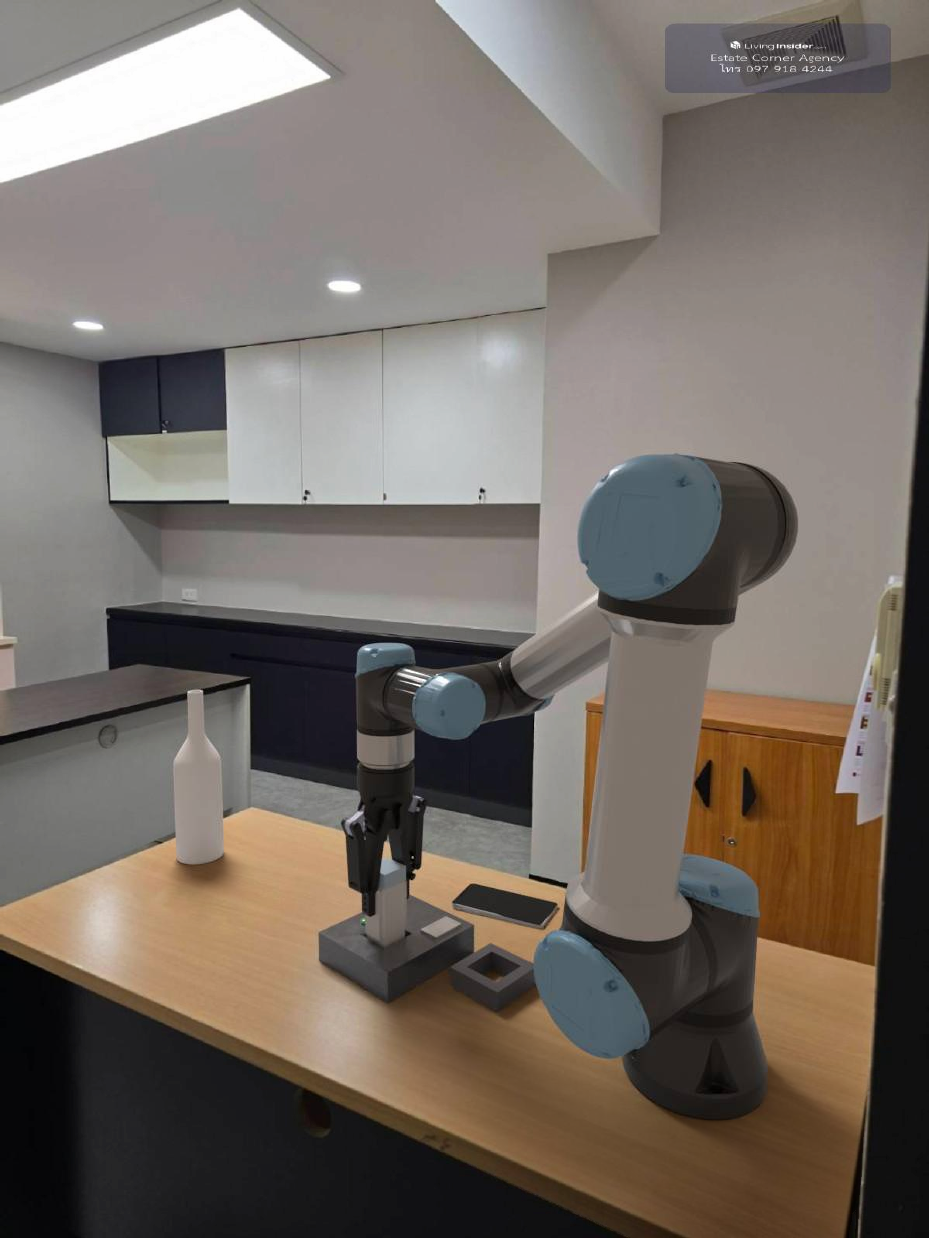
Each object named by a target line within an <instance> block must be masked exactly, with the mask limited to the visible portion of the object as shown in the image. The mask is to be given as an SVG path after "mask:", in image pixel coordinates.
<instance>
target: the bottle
mask: <svg viewBox="0 0 929 1238" xmlns="http://www.w3.org/2000/svg"><path fill="white" fill-rule="evenodd" d="M186 693H187V696H186V697H187V723H188V724H187V726H188V727H187V730H188V731H187V732H188V733H187V736H186V737H187V738H186V739H185V740H184V742H183V744H182V746H181V747H180V749H179V751H178V752H177V754H176V756H175V757H174V760H173V764H172V765H173V766H172V768H173V771H172V772H173V791H174V792H173V803H174V825H175V853H176V860H177V861H178V862H179V863H181V864H185V865H191V866H192V865H194V866H195V865H196V866H197V865H202V864H209V863H212V862H215V861H217V860H219V859H220V858H221V857H222V856H223V855H224V853H225V849H224V848H225V846H224V845H225V843H224V842H225V839H224V835H225V834H224V808H223V805H224V804H223V802H224V801H223V800H224V798H223V772H222V771H223V769H222V765H223V764H222V758H221V755H220V754H219V752H218V750H217V749H216V748H215V746H214V745H213V744H212V742H211V741H210V740H209V738H208V736H207V735H206V732H205V731H206V729H205V711H204V710H205V708H204V706H205V705H204V691H203V690H201V689H192V690H188V691H187V692H186Z"/></svg>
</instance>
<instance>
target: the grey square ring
mask: <svg viewBox="0 0 929 1238" xmlns="http://www.w3.org/2000/svg"><path fill="white" fill-rule="evenodd" d="M491 970H493V971H494V972H496V973H498V974H501V975H502V976H503V977H501V979H499V980H497V981H495V980H493V979H491V978H489V977H487V976H485V975H484V974H486V973H488V972H489V971H491ZM449 986H451V987H452V988H454V989H456V990H457V991H459V992H461V993H463V994H465V995H466V996H468V997H470V998H471V999H474V1000H475V1001H478V1002H479V1003H481V1004H483V1005H484V1006H486V1007H488V1008H490V1009H491V1010H493V1011H495V1012H499V1011H501V1010H502V1009H503V1008H505V1007H506V1006H508V1005H509V1004H510V1003H512V1002H514V1001H515V1000H516V999H518V998H519V997H520V996H522V995H523V994H525V993H526V992H527V991H529V990H531V989H532V988H533V987H535V986H536V982H535V977H534V968H533V962H532V961H529V960H527V959H524V958H523V957H520V956H518V955H516V954H515V953H512V952H511V951H508V950H506V949H505V948H502V947H500V946H498V945H495V944H493V942H490V943H488V944H487V945H485V946H483V947H481V948H480V949H478V950H476V951H474V952H473V953H472V954H470V955H468V956H467V957H465V958H463V959H461V960H460V961H458V962H456V963H455V964H453V965H451V966H450V967H449Z"/></svg>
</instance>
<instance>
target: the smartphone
mask: <svg viewBox="0 0 929 1238" xmlns="http://www.w3.org/2000/svg"><path fill="white" fill-rule="evenodd" d="M451 907H452V909H454V910H458V911H461V912H464V913H469V914H472V915H473V914H474V915H477V916H483V917H488V918H492V919H496V920H500V921H504V922H509V923H512V924H517V925H521V926H525V927H530V928H534V929H539V930H542V929H544V927H545V926H546V924H547V923H548V922H549V920H551V917H552V916H553V915H554V913H555V912H556V911H557V910H558V907H559V905H558V903H557V902H555V901H551V900H546V899H542V898H539V897H534V896H528V895H525V894H521V893H517V892H513V891H508V890H504V889H499V888H496V887H491V886H486V885H483V884H477V883H469V885H467V886H466V887H465V888H464V889H463V890H462V891H461V892H460V893H459V894H458V895H457V896H456V897H455V898H454V899H453V900H452V901H451Z"/></svg>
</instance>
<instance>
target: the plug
mask: <svg viewBox="0 0 929 1238" xmlns="http://www.w3.org/2000/svg"><path fill="white" fill-rule="evenodd" d="M405 880H406V866H405V865H403V864H400V863H398V862H396V861H393V860H392V858H389V857H386V858H382V863H381V870H380V878H379V886H378V890H380V891H383V939H381V940H377V939H375V938H373V937H371V936H370V935H368V934H367V939H369V940H371V941H373V942H375V943H376V944H378V945H380V946H382V947H384V948H386V947H388V946H390V945H392V944H393V943H395V942H397V941H399V940H401V939H403V938H405Z"/></svg>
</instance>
